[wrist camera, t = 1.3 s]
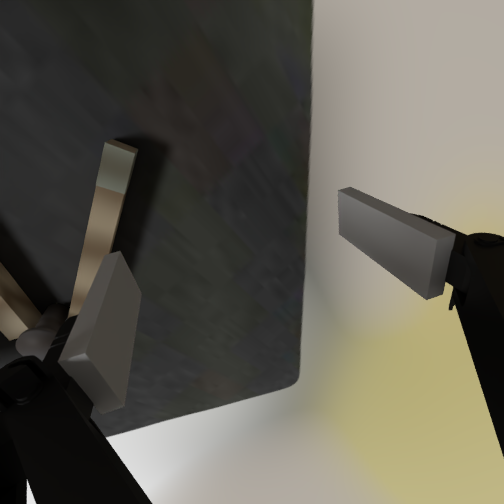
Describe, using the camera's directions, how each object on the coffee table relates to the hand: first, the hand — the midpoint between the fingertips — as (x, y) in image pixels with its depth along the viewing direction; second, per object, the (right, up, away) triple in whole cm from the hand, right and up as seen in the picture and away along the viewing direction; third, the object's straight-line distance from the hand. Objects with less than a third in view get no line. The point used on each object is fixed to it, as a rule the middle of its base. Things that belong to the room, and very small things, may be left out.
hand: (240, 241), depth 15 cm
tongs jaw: (-16, +1, +16) cm, 23 cm away
